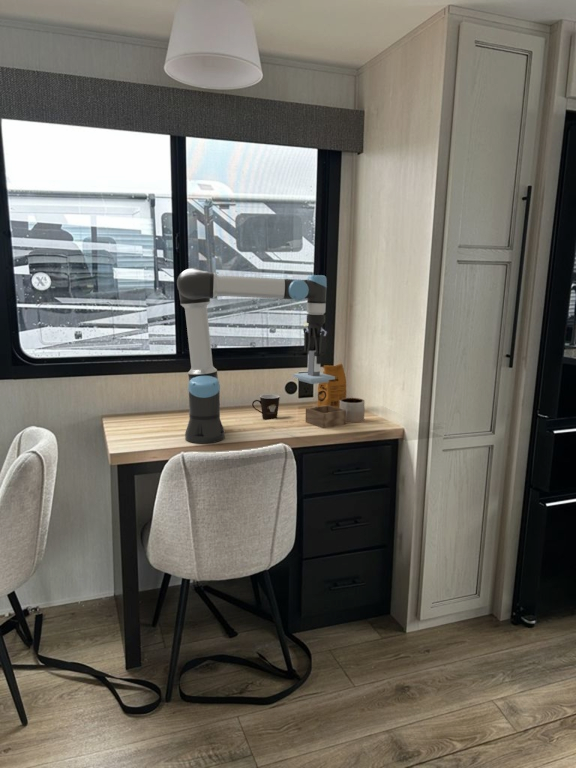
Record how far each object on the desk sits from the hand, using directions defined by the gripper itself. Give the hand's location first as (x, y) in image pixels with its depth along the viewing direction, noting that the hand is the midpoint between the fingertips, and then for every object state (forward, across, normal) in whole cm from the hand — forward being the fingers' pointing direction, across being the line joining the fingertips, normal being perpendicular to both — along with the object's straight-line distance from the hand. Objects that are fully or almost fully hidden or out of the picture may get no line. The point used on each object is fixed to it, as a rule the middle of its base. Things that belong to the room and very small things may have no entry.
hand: (313, 370), depth 241 cm
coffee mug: (+24, +22, +8) cm, 34 cm away
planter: (+23, -3, -19) cm, 31 cm away
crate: (+24, -2, -6) cm, 24 cm away
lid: (+4, 0, 0) cm, 4 cm away
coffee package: (+24, +17, -25) cm, 38 cm away
